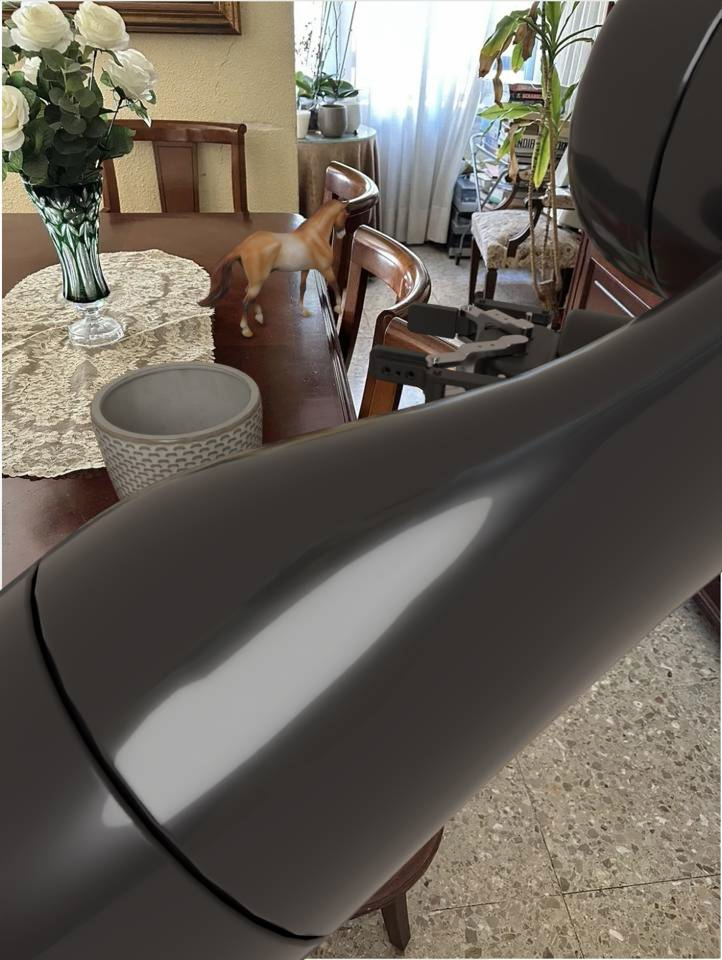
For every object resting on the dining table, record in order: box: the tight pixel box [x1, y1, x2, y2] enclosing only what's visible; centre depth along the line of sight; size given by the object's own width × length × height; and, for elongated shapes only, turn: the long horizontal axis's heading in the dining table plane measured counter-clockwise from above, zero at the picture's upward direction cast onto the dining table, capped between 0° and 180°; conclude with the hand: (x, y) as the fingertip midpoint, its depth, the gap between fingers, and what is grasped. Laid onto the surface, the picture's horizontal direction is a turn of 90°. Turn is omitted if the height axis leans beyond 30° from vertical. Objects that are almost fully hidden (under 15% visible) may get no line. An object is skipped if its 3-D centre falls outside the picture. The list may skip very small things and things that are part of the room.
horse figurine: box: [196, 197, 350, 338], centre depth 119 cm, size 31×8×21 cm, turn 123°
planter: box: [89, 360, 264, 501], centre depth 73 cm, size 17×17×16 cm
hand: (390, 337), depth 47 cm, fingers open, 8 cm apart
